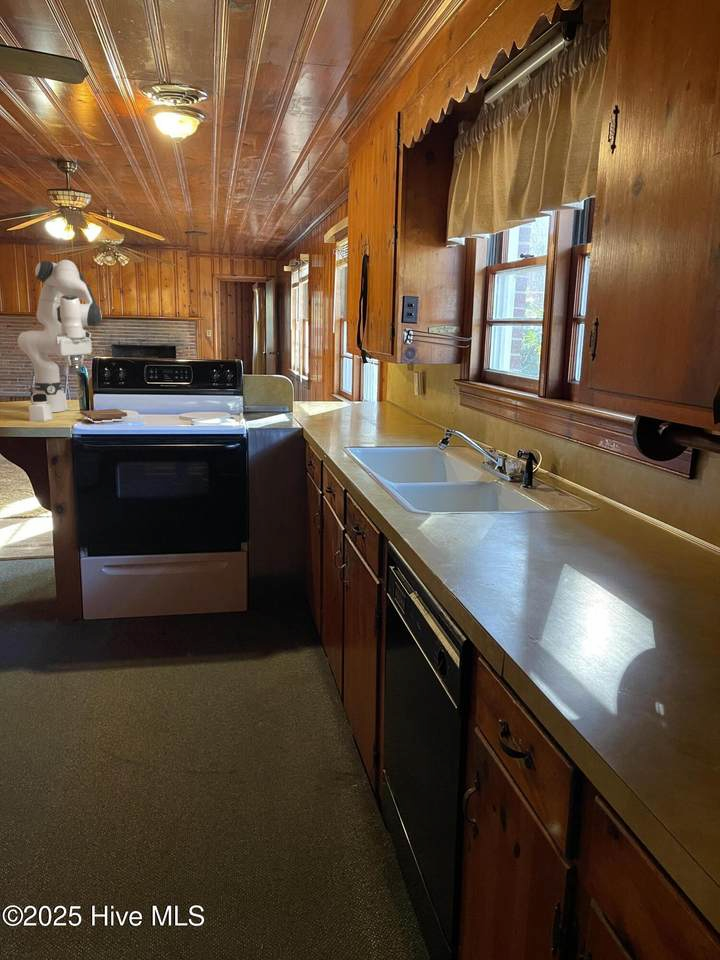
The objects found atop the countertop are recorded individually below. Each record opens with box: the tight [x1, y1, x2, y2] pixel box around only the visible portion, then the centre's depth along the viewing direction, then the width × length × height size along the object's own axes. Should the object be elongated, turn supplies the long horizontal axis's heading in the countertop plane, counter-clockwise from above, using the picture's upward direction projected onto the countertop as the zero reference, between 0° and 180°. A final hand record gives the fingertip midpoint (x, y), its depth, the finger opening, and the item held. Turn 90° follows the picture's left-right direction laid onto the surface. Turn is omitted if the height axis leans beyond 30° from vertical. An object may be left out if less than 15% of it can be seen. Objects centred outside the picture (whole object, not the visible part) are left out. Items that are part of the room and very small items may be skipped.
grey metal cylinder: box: [68, 355, 82, 374], centre depth 311 cm, size 5×5×7 cm
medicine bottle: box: [28, 394, 53, 422], centre depth 319 cm, size 7×7×12 cm
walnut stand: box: [80, 408, 128, 421], centre depth 321 cm, size 16×16×4 cm
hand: (74, 365), depth 311 cm, fingers closed on grey metal cylinder, 5 cm apart
